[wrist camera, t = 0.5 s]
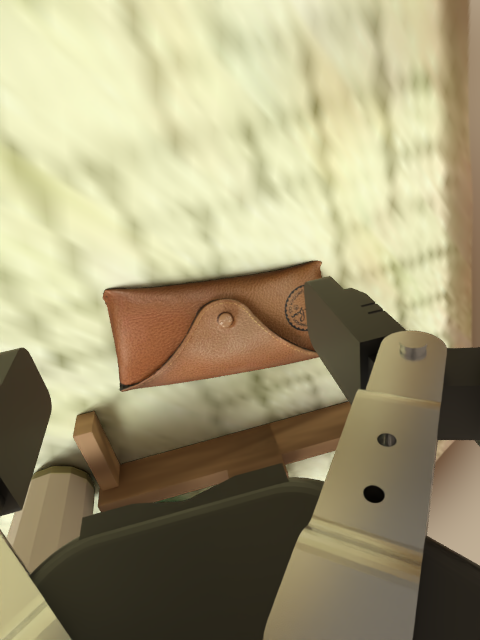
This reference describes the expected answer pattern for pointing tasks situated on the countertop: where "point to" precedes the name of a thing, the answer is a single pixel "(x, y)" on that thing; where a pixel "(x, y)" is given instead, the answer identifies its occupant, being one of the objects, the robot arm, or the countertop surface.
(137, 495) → the display cradle
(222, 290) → the sunglasses case
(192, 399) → the countertop surface
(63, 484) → the bottle
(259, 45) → the countertop surface
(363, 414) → the robot arm
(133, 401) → the countertop surface
